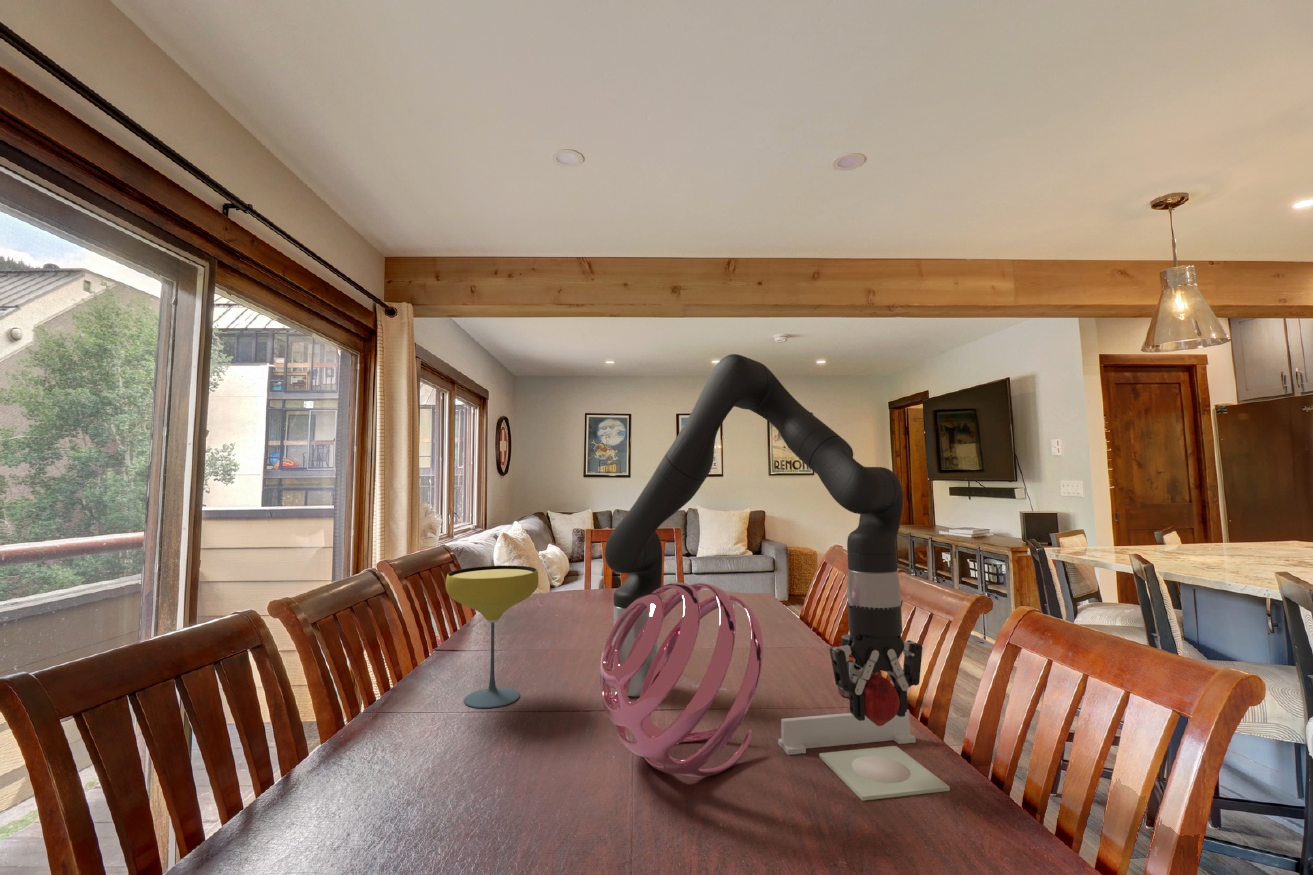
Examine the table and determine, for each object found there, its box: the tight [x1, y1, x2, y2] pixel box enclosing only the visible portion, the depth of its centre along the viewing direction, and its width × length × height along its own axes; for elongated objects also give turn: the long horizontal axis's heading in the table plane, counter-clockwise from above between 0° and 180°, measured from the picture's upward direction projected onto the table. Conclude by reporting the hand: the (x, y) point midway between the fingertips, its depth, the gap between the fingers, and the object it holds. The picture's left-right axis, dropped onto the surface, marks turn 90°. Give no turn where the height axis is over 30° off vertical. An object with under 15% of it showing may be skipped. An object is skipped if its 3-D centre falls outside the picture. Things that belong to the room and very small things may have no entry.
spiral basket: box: [599, 582, 765, 778], centre depth 93 cm, size 28×28×27 cm
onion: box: [862, 671, 900, 726], centre depth 88 cm, size 6×6×8 cm
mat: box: [818, 745, 951, 802], centre depth 87 cm, size 13×13×1 cm
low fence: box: [777, 708, 917, 756], centre depth 97 cm, size 22×4×4 cm, turn 100°
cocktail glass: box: [445, 565, 539, 710], centre depth 119 cm, size 18×18×25 cm
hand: (878, 716), depth 87 cm, fingers closed on onion, 5 cm apart
